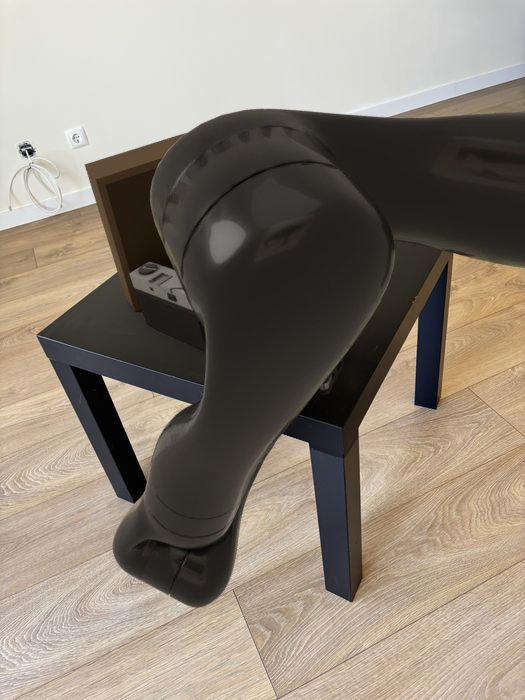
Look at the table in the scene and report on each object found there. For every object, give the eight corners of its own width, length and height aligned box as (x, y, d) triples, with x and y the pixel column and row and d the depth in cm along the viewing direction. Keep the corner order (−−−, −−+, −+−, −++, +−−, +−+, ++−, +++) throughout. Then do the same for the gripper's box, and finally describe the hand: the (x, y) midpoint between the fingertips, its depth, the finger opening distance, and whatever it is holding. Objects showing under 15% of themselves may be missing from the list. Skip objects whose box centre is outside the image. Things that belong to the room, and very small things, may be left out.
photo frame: (126, 301, 91) (74, 155, 75) (237, 256, 98) (209, 114, 82) (158, 342, 80) (104, 181, 65) (279, 288, 87) (256, 131, 72)
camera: (244, 324, 81) (232, 267, 74) (206, 354, 76) (190, 295, 70) (182, 300, 89) (167, 246, 82) (144, 326, 84) (125, 271, 78)
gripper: (310, 399, 52) (352, 306, 63) (185, 378, 57) (244, 295, 69) (316, 450, 57) (355, 355, 68) (200, 425, 62) (253, 341, 73)
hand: (299, 325), depth 68 cm, fingers open, 8 cm apart
